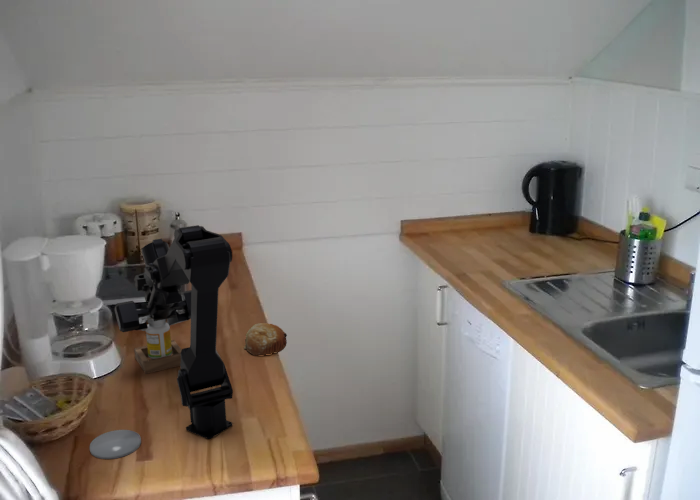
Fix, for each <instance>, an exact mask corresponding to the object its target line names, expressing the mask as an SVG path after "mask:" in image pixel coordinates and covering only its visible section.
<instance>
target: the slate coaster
mask: <svg viewBox="0 0 700 500" xmlns="http://www.w3.org/2000/svg"><path fill="white" fill-rule="evenodd" d="M141 444H142V438H141V436H140V434H139V433H138V432H136V431H134V430H131V429H130V430H129V429H115V430H111V431H107V432H105V433H102V434H100V435H98V436H97V437H95V438H94V439H93V440H92V441H91V442H90V444H89V451H90V454H91V456H93V457H94V458H97V459H103V460H113V459H114V460H115V459H118V458H123V457H125V456H128V455H131V454H132V453H134V452H136V451H137V450H138V449H139V448H140V446H141Z"/></svg>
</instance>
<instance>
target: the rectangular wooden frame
mask: <svg viewBox="0 0 700 500" xmlns="http://www.w3.org/2000/svg"><path fill="white" fill-rule="evenodd" d="M171 346H172V354H171V355H170V356H165V357H161V358H156V359H148V358H149V356H148V348H147V345H144V346H143V345H142V346H139V347H134V349H133V351H134V358H135V360H136V362H137V363H138V365H139V366H140V367H141V369H142V371H143V372H144V374H150V373H154V372H155V373H156V372H159V371H164V370H168V369H171V368H172V369H173V368H176V367H181V366H180V363H181V351H182V349H183V348H181V347H180V345H179V344H178V343H177V342H176V341H175V339H171Z"/></svg>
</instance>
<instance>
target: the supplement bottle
mask: <svg viewBox="0 0 700 500" xmlns="http://www.w3.org/2000/svg"><path fill="white" fill-rule="evenodd" d="M147 323H148V324H147V326H148V328H147V330H145V336H146V346H147V348H148V356H149V357H148V358H149V359H150V360H152V359H156V358H161V357H165V356H170V355H173V354H172V346H171V340H172V337H171V328H170V327H171V325H170V326H169V324H168V323H167V319H163V320H158V321H154V320H153V319H148V320H147Z"/></svg>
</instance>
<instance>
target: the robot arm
mask: <svg viewBox="0 0 700 500" xmlns="http://www.w3.org/2000/svg"><path fill="white" fill-rule="evenodd" d="M173 235H174V236H173V240H172V242H171V244H170V245H169V244H168V242H166V241H163V239H162V238H156V239H152V242H149V243H147V244H145V245H144V246H143V247H141V253H142V257H143V261H144V265H145V267H144V272H143V273H139V274H137V275H135V276H134V283H133V284H134V286H135V289H136V291H137V292H140V291H142V292H145V295H144V300H145V302H146V303H147V304H146V308H143V305H142V303H139V304H135V300H128V301H123V302H119V303H118V302H117V303H116V305H115V306H114V313H115V317H116V320H117V325H118V328H119V331H120V332H122V333H126V332H132V331H143V332H144V331H145V332H146V330H147V328H148V326H147V325H148V324H147V323H148V322H147V321H148V319H153V320H154V321H158V320H163V319H166V323H168V324H169V326H170V327H171V326H174V325H176V324H180V323H183V322H187V321H189V320H190V338H189V339H190V340H189V341H190V342H189V343H190V344H189V347H185V348H181V349H182V351H181V363H180V366H179V367H180V369H178V372H177V378H176V382H177V386H178V390H179V395H180V399H181V401H180V402H181V405H182V407H187V408H188V410H189V415H190V423H191V424H189V425H187V426H186V427H185V430H186V431H187V432H189V433H192V434H194V435H196V436H199V437H202V438H204V439H206V440H212V439H213V438H214V437H216V436H218V435H219V434H221V433H223V432H224V431H226V430H227V429H229V428H231V427H232V426H233V422H232V421H229V420H227V414H226V413H227V412H226V411H227V410H226V400H230V399H233V396H234V390H233V387H232V384H231V381H230V377H229V375H228V371H227V368H226V364H225V363H224V360H223V359H222V357H221V356H220V354H219V351H218V350H217V337H218V336H217V335H218V334H217V333H218V330H217V329H218V314H219V313H218V310H219V309H218V308H219V307H218V306H219V289H220V287H221V285H222V284H223V283H225V281H226V279H228V277H229V274H230V273H229V272H230V267H231V266H230V265H231V263H232V260H233V250H232V248H231V244H230V243H229V242H228V241H227V240H226V239H225V237H224V236H222V234H219V233H216V232H212V231H211V230H208V229H206V228H205V227H204V226H202V225H189V226H183V227H178V228H177V229H174V232H173ZM188 284H191V288H190V290H185V291H182V287H183V286H185V285H188ZM206 389H207V390H206ZM197 391H199V392H197Z"/></svg>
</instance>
